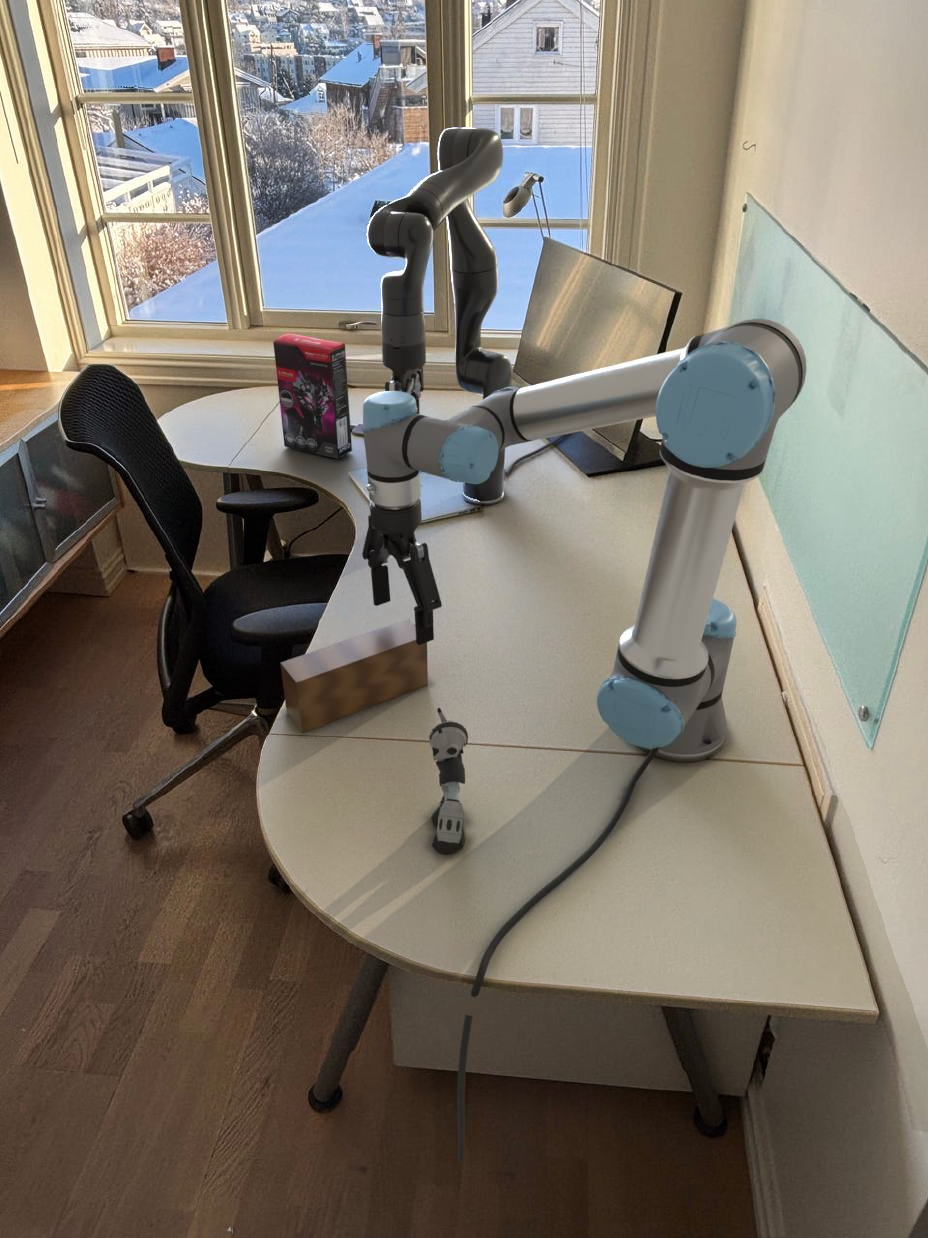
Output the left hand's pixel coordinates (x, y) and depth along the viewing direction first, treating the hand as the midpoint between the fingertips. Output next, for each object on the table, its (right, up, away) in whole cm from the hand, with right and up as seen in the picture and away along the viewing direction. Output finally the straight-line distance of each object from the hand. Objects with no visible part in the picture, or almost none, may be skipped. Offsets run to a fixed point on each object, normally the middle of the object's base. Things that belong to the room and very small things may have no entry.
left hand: (406, 426), depth 167 cm
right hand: (+1, -35, -21) cm, 41 cm away
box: (-7, -48, -18) cm, 51 cm away
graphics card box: (-26, +8, +64) cm, 70 cm away
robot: (+8, -64, -41) cm, 77 cm away
